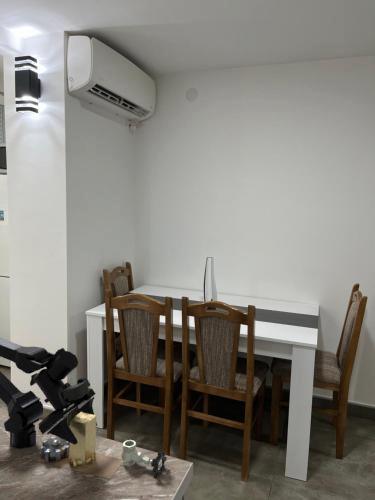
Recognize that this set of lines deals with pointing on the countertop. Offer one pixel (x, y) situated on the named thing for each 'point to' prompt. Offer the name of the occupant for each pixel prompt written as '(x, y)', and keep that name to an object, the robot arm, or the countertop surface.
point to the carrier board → (91, 465)
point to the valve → (142, 458)
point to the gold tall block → (83, 440)
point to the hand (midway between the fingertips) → (86, 434)
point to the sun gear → (54, 449)
